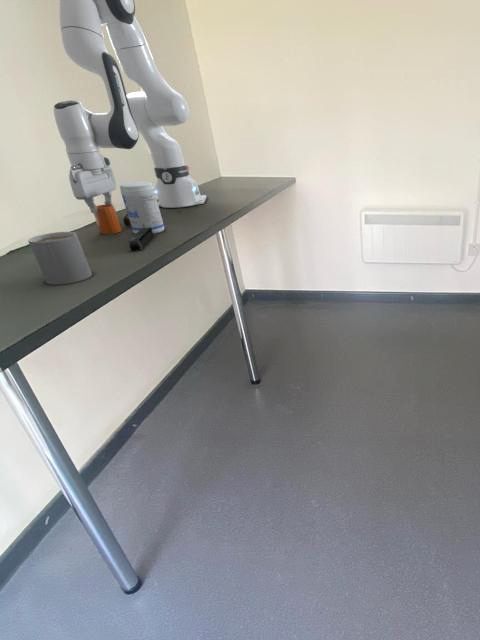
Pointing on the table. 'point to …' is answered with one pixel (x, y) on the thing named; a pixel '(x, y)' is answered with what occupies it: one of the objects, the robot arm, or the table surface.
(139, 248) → the black bar
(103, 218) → the cup
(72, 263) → the coffee mug
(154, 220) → the supplement tub
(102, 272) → the table surface
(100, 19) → the robot arm
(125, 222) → the sunglasses case
